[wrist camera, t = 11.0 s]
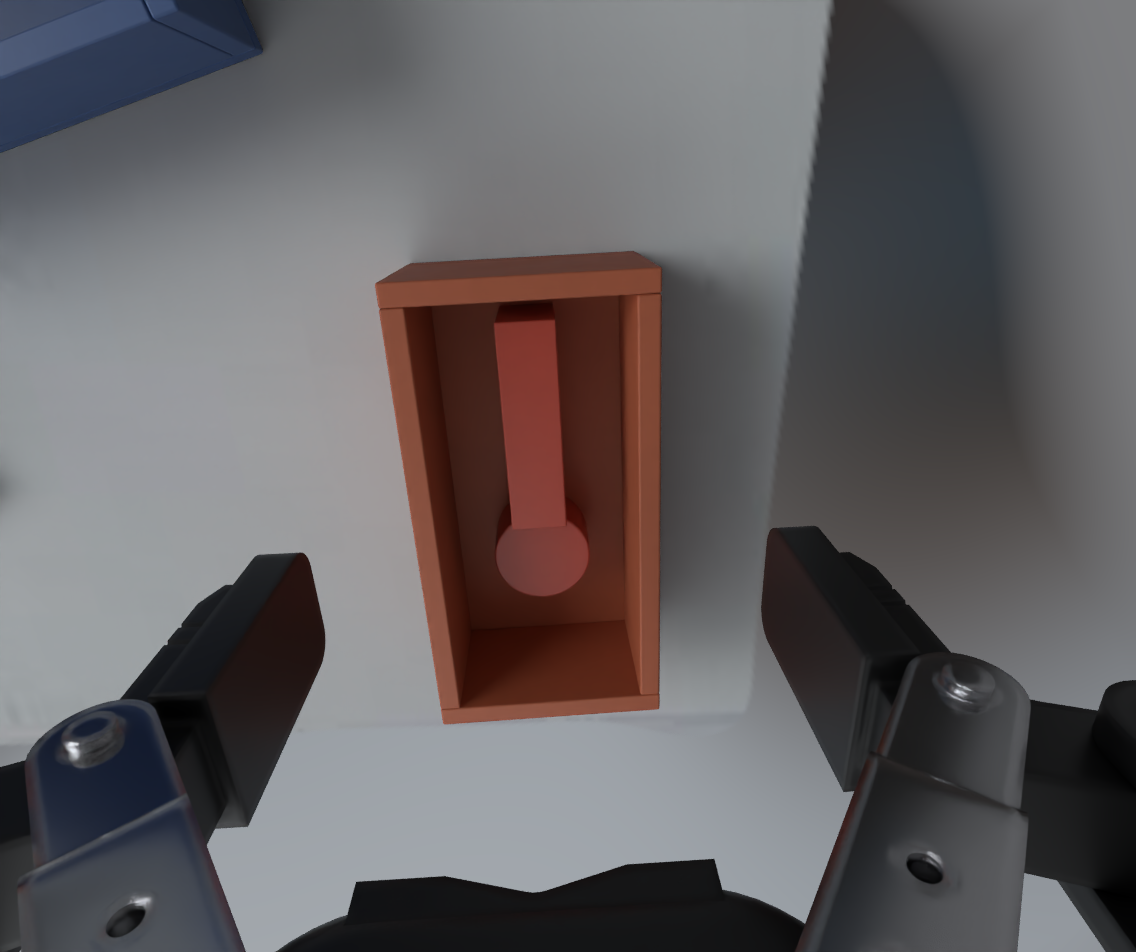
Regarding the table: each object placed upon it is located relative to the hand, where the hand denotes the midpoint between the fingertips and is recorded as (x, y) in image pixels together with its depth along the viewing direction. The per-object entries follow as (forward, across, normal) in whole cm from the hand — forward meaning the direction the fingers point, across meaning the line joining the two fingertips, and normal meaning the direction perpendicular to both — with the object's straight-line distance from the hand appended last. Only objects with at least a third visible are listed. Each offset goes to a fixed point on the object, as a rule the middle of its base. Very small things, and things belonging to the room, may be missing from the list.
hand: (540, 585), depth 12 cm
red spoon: (+10, 0, +1) cm, 10 cm away
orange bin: (+11, 0, +2) cm, 11 cm away
